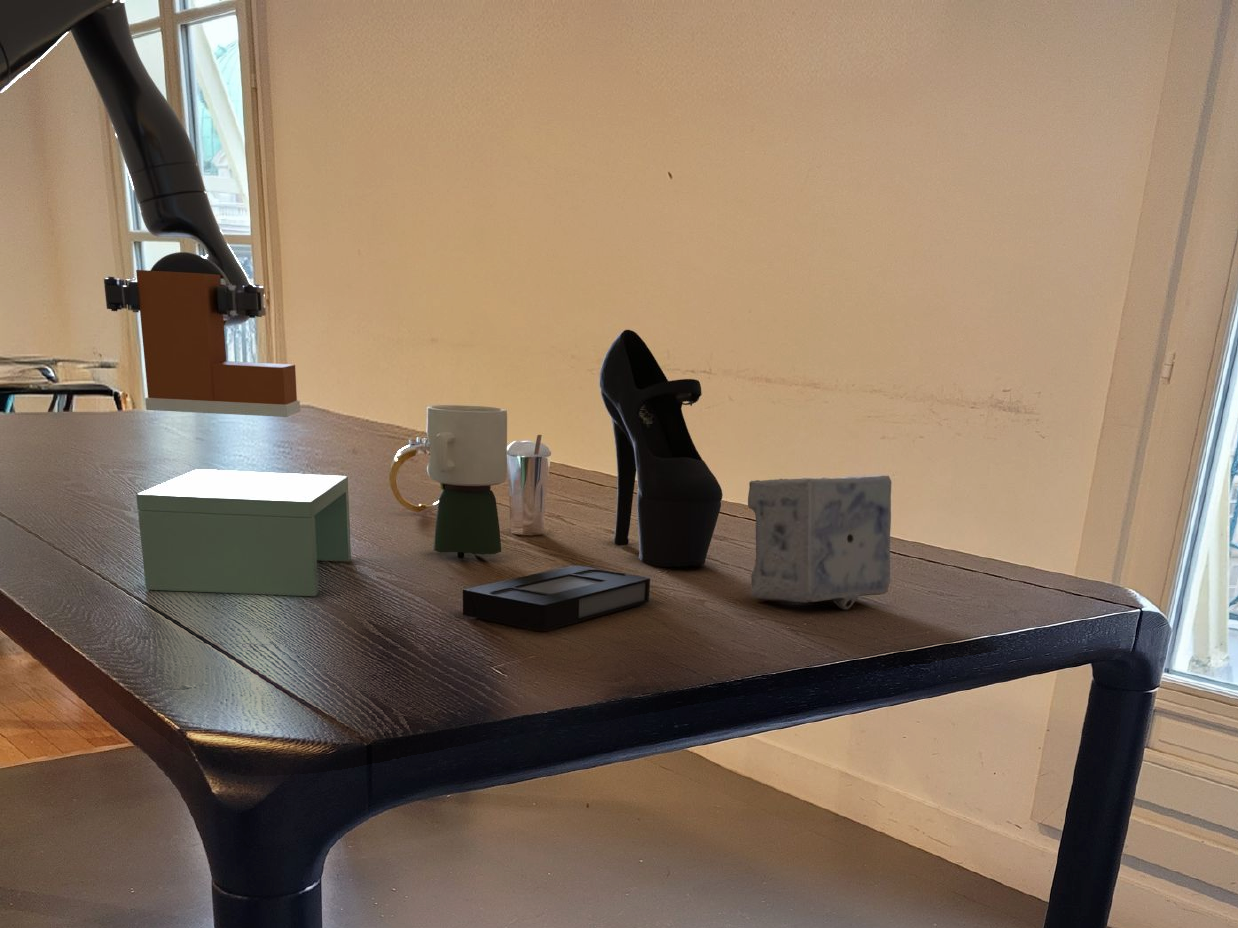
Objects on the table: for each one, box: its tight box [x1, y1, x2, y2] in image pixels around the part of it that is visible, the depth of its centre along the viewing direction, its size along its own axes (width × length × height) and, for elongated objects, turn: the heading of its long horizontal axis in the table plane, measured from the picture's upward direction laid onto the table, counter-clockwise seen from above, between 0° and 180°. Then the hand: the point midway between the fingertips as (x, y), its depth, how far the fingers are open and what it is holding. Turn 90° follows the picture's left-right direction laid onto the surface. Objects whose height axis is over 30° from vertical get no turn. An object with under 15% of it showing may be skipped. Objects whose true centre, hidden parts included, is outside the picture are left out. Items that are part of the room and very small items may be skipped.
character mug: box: [425, 404, 508, 560], centre depth 116 cm, size 11×7×13 cm, turn 161°
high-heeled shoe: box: [598, 329, 723, 568], centre depth 119 cm, size 8×19×20 cm, turn 32°
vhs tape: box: [462, 564, 651, 632], centre depth 99 cm, size 8×14×2 cm, turn 147°
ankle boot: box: [135, 269, 301, 418], centre depth 111 cm, size 12×6×11 cm, turn 93°
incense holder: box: [747, 474, 892, 611], centre depth 105 cm, size 10×8×10 cm
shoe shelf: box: [135, 468, 352, 597], centre depth 105 cm, size 13×16×7 cm
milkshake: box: [507, 434, 552, 537], centre depth 129 cm, size 4×5×10 cm
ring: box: [389, 436, 438, 516], centre depth 138 cm, size 7×3×8 cm, turn 100°
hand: (178, 298), depth 107 cm, fingers closed on ankle boot, 6 cm apart
